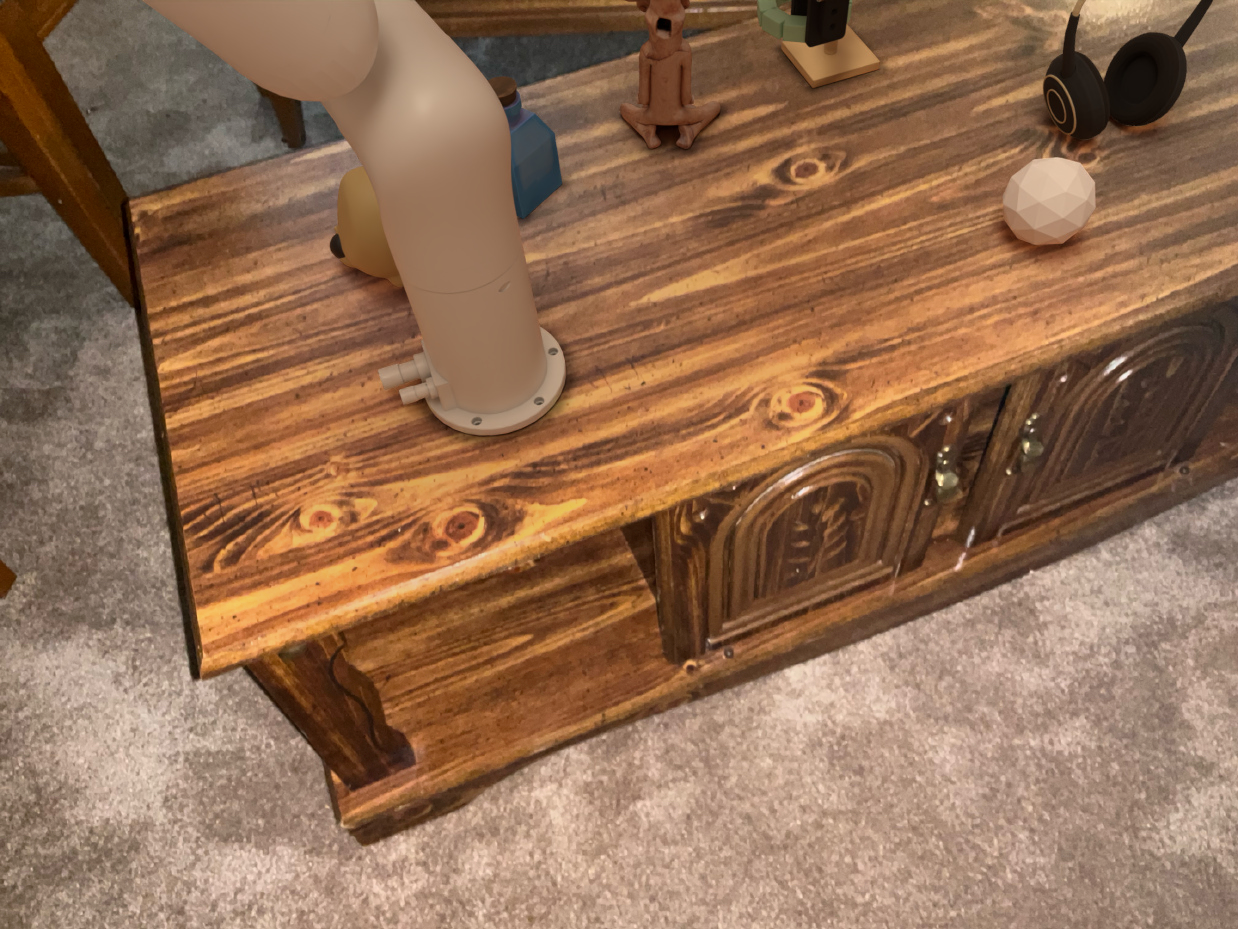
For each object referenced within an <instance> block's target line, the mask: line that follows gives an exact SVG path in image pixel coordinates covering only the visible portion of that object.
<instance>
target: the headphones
mask: <svg viewBox="0 0 1238 929" xmlns="http://www.w3.org/2000/svg"><path fill="white" fill-rule="evenodd" d="M1086 1H1087V0H1077V2H1076V3H1075V5H1074V7H1073V9H1072V11H1070V14H1069V17H1068V21H1067V25H1066V28H1065V32H1064V38H1063V45H1062V46H1063V47H1062V53H1061V54H1059V55H1057V56H1056V57H1055V58H1054V59H1052V60H1051V62H1050V64H1049V66H1048V68H1047V70H1046V73H1045V76H1044V79H1043V82H1042V95H1043V100H1044V102H1045V103H1044V104H1045V107H1046V109H1047V112H1048V114H1049V116H1050V118H1051V120H1052V122H1053V123H1054V125H1055V126H1056V128H1057V129H1058V130H1059V131H1060V132H1061V133H1063V134H1064V135H1067V136H1069V137H1072V138H1074V139H1077V140H1081V141H1088V140H1091V139H1093V138H1094V137H1097V136H1099V135H1100V134H1102V132H1103V131H1104V130H1106V128H1107V126H1108V123H1109V120H1110V118H1112V119H1113V120H1114V121H1116V122H1117V123H1118V124H1121V125H1122V126H1127V127H1144V126H1148V125H1150V124H1153V123H1155V122H1156V121H1158V120H1160V119H1161V118H1163V117H1164V116H1166V114H1168V112H1170V110H1172V108H1173V107H1174V105H1175V104H1176V102H1177V101H1178V99H1179V98H1180V96H1181V93H1182V92H1183V89H1184V87H1185V83H1186V81H1187V74H1188V63H1187V62H1188V61H1187V56H1186V53H1185V50H1184V46H1186V44H1187V42H1188V41H1189V39H1190V38H1191V36H1192V35H1193V34H1194V32H1195V31H1196V29H1197V27H1198V26H1199V24H1200V23H1201V22H1202V20H1203V18H1204V17H1205V15H1206V13H1207V12H1208V11H1209V9H1210V6H1211V5H1212V3H1213V2H1214V0H1200V1H1199V2H1198V3H1197V5H1196V6H1195V8H1194V9H1193V11H1192V12H1191V13H1190V15H1189V16H1188V17H1187V19H1186V20H1185V21H1184V22H1183V24H1182V25H1181V26H1180V28H1179V29H1178V30H1177V32H1176V33H1175V35H1174V36H1172V35H1169V34H1167V33H1164V32H1155V31H1148V32H1144V33H1141V34H1139V35H1136V36H1134V37H1133V38H1131V39H1129V40H1128V41H1127V42H1125V43H1124V44H1123V45H1122V46H1121V47H1120V48H1119V49H1118V50H1117V51H1116V53H1115V54H1114V55H1113V57H1112V59H1111V60H1110V62H1109V63H1108V66H1107V69H1106V72H1105V75H1104V78H1103V76H1102V75H1101V73H1100V70H1098V68H1097V66H1096V64H1094V62H1093V61H1092V60H1091V59H1090V58H1089V56H1087V55H1086V54H1084V53H1082V52H1080V51H1076V37H1077V31H1078V26H1079V22H1080V18H1081V14H1080V13H1081V11H1082V8H1083V6H1084V4H1085V2H1086Z"/></svg>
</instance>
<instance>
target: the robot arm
mask: <svg viewBox="0 0 1238 929" xmlns="http://www.w3.org/2000/svg"><path fill="white" fill-rule="evenodd" d="M141 1H142V2H143V3H145V4H146V5H148V6H149V7H150V8H152V9H153V10H154V11H156V12H157V13H158V14H160V15H161V16H163V17H164V18H166V19H167V20H168V21H170V23H172V24H174V25H175V26H176V27H178V28H179V29H181V30H182V31H183V32H184V33H186V34H188V35H189V36H190V37H192V38H193V39H195V40H196V41H197V42H199V43H200V44H202V45H203V46H204V47H206V48H207V49H208V50H209V51H211V52H212V53H213V54H215V55H216V56H218V57H219V58H220V59H221V60H222V61H224V62H225V63H226V64H228V65H229V66H230V67H231V68H233V69H234V70H235V71H236V72H237V73H239V74H240V75H241V76H243V77H244V78H246V79H247V80H249V81H251V82H252V83H254V84H256V85H257V86H258V87H260V88H262V89H263V90H267V91H269V92H270V93H273V94H275V95H277V96H280V97H283V98H288V99H292V100H297V101H301V102H318V103H320V104H321V105H322V106H323V108H324V109H325V110H326V112H327V113H328V114H329V116H330V117H331V119H332V120H333V121H334V123H335V125H336V126H337V129H338V130H339V132H340V134H341V135H342V137H343V138H344V140H345V141H346V142H347V143H348V145H349V146H350V148H351V149H352V150H353V152H354V154H355V155H356V157H357V158H358V160H359V162H360V164H361V166H363V167H364V169H365V171H366V173H367V175H368V178H369V180H370V182H371V184H372V187H373V189H374V192H375V195H376V198H377V201H378V205H379V210H380V217H381V221H382V225H383V229H384V233H385V236H386V239H387V242H388V245H389V248H390V251H391V253H392V256H393V259H394V262H395V264H396V267H397V269H398V271H399V274H400V277H401V280H402V282H403V285H404V286H403V287H404V290H405V293H406V296H407V298H408V301H409V302H408V303H409V304H410V307H411V310H412V312H413V315H414V318H415V321H416V324H417V326H418V330H419V332H420V335H421V337H422V339H420V344H421V347H422V350H423V351H421V352H418V353H415V354H412V357H413V359H411V360H408V361H404V362H401V363H397V362H396V363H394V364H391V365H387V366H384V367H381V368H378V369H377V373H378V376H379V379H380V382H381V384H382V387H383V389H384V391H386V392H387V391H389V390H392V389H395V388H399V387H402V386H405V385H406V384H408V383H410V382H414V381H417V380H421V383H419V384H418V383H417V384H416V385H413V384H412V385H410V386H407V387H403V388H401V389H399V390H398V393H399V396H400V399H401V402H402V404H403V406H406V405H409V404H412V403H416V402H418V401H419V400H422V399H425V402H426V404H427V406H428V408H429V409H430V411H431V412H432V414H433V415H434V417H436V419H438V420H439V421H440V422H442V423H443V424H444V425H446V426H448V427H450V428H451V429H453V430H455V431H458V432H461V433H465V434H467V435H475V436H498V435H504V434H508V433H509V434H510V433H511V432H515V431H518V430H521V429H523V428H525V427H527V426H529V425H531V424H533V423H535V422H536V421H538V420H539V419H541V418H542V417H543V416H544V415H546V414H547V413H548V412H549V411H550V409H552V408H553V406H555V404H556V402H557V401H558V399H559V398H560V396H561V394H562V392H563V389H564V388H565V385H566V379H567V368H566V366H567V365H566V360H565V355H564V351H563V350H562V347H561V346H560V343H559V341H557V339H556V338H555V337H554V335H552V333H550V332H549V331H547V330H546V329H545V328H544V327H542V326H541V325H540V322H539V317H538V311H537V307H536V303H535V302H536V301H535V298H534V292H533V288H532V282H531V277H530V273H529V269H528V264H527V258H526V253H525V249H524V245H523V239H522V235H521V231H520V226H519V221H518V216H517V215H516V210H515V205H514V198H513V191H512V182H511V136H510V130H509V124H508V120H507V117H506V114H505V111H504V109H503V107H502V104H501V103H500V101H499V99H498V97H497V95H496V93H495V91H494V90H493V88H492V87H491V85H490V84H489V82H488V80H487V78H486V76H485V75H484V74H483V73H482V71H481V70H480V69H479V68H478V67H477V66H476V64H475V63H474V62H473V61H472V60H471V58H470V57H468V55H467V54H466V53H465V52H464V51H463V50H462V49H461V48H460V47H459V45H458V44H457V43H456V42H455V41H454V40H453V39H452V38H451V36H449V35H448V34H446V33H445V31H444V30H443V29H442V28H441V27H440V26H439V25H438V24H437V23H436V21H435V20H434V19H433V18H432V17H431V16H430V15H429V14H428V13H427V12H426V10H424V8H422V7H421V5H420V4H419V3H418V2H417V1H416V0H141ZM849 1H850V0H792V1H790V2H791V3H790V15H797V16H807V19H806V30H805V43H806V44H807V46H808V47H814V46H818V45H821V44H825V43H829V42H832V41H836V40H839V39H842V38H843V37H844V36H845V33H846V25H848V23H847V17H848V9H849Z"/></svg>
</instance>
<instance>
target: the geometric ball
mask: <svg viewBox="0 0 1238 929" xmlns="http://www.w3.org/2000/svg"><path fill="white" fill-rule="evenodd" d="M1095 210H1096V182H1095V180H1094V179H1093V178H1092V177H1091V175H1090V174H1089V173H1088V171H1087V170H1086V169H1085V167H1084V166H1083V164H1082V163H1081V162H1080V161H1079V162H1078V161H1076V160H1075V161H1074V160H1072V159H1067V158H1064V157H1058V156H1056V157H1055V156H1054V157H1045V158H1044V157H1043V158H1034V159H1032V160H1031V161H1030V162H1028V163H1027V164H1026V165H1024V166H1023V167H1021V168H1020V169H1019V170H1018V171H1016V172H1015V173H1014V174H1013V175H1011V176H1010V179H1009V180H1008V183H1007V185H1006V187H1005V189H1004V191H1003V194H1002V213H1003V215H1002V216H1003V221H1004V222H1005V224H1006V225H1007V226H1008V228H1009V229H1010V230H1011V232H1012V233H1013V235H1014V236H1015V237H1016V238H1017V239H1018V240H1020V241H1023V242H1026V243H1029V244H1031V245H1033V246H1037V245H1038V246H1040V245H1041V246H1042V245H1059V244H1060V245H1062V244H1064V243H1065V242H1067V241H1068V240H1069V239H1070V238H1072V237H1073V236H1074V235H1076V234H1077V233H1078V232H1080V231H1081V230H1082V229H1084V228H1085V227H1086V226H1087V224H1088V222H1089V221H1090V219H1091V217H1092V215H1093V213H1094V212H1095Z"/></svg>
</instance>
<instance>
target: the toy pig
mask: <svg viewBox="0 0 1238 929" xmlns="http://www.w3.org/2000/svg"><path fill="white" fill-rule="evenodd" d="M338 186H339V187H338V192H337V193H338V194H337V204H336V217H337V218H336V219H337V225H335V226H334V227H333V231H335V233H334V235H333V236H332V237H331V238H330V241H329V250H330V252H331V254H332V255H333V256H334V257H335V258H336V259H338V260H340V262H341V263H342V264H343V265H344V266H347V267H349V268H352V269H357V270H359V271H360V272H363V273H364V274H367V275H370V276H372V277H375V278H379V279H380V278H381V279H387V280H389V282H390V283H391V284H392V285H393V286H394V287H397V288H403V287H404V285H403V282H402V280H401V277H400V274H399V271H398V269H397V267H396V264H395V262H394V259H393V256H392V253H391V251H390V248H389V245H388V242H387V239H386V236H385V233H384V229H383V225H382V221H381V217H380V210H379V205H378V201H377V198H376V195H375V192H374V189H373V187H372V184H371V182H370V180H369V178H368V175H367V173H366V171H365V169H364V167H363V166H362V165H360V166H357V167H354V168H353V169H350V170H349V171H347V172H346V173H345V174H344V175H343V176H342V178H341V179H340V182H339V185H338Z"/></svg>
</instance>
